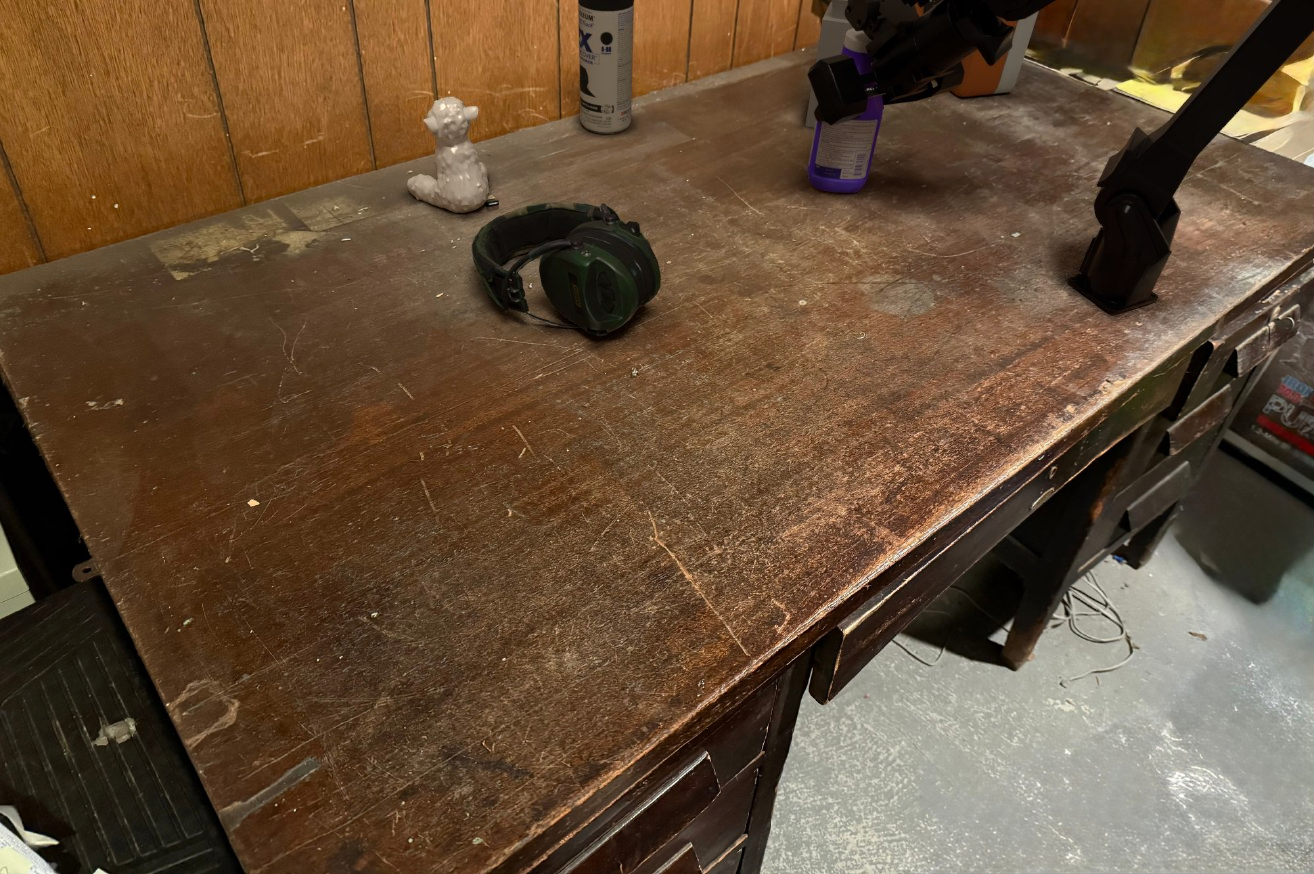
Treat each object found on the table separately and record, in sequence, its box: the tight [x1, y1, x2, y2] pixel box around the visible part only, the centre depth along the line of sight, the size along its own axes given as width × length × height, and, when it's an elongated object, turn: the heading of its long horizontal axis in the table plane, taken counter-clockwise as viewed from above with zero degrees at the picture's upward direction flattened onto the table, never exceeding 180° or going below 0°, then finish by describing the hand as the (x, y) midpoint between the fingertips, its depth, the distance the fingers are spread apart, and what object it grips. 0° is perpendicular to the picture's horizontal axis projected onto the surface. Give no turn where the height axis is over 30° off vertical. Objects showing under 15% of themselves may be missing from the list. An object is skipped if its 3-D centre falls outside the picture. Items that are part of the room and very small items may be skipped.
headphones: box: [471, 201, 662, 337], centre depth 85 cm, size 13×13×20 cm
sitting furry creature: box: [406, 96, 490, 214], centre depth 96 cm, size 10×9×12 cm
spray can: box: [577, 0, 635, 135], centre depth 109 cm, size 7×7×20 cm
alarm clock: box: [915, 0, 1040, 98], centre depth 125 cm, size 18×9×21 cm, turn 17°
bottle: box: [807, 29, 885, 194], centre depth 100 cm, size 7×6×17 cm
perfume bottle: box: [804, 0, 854, 129], centre depth 113 cm, size 7×7×18 cm
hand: (840, 109), depth 101 cm, fingers closed on bottle, 7 cm apart
